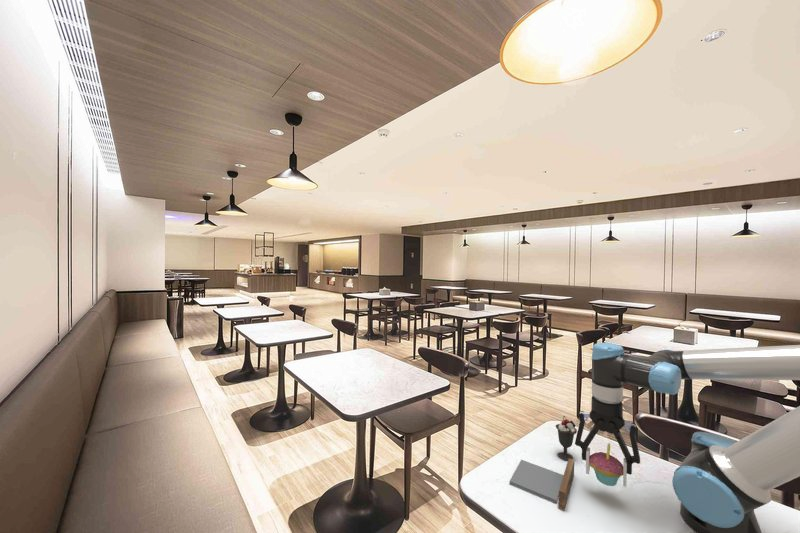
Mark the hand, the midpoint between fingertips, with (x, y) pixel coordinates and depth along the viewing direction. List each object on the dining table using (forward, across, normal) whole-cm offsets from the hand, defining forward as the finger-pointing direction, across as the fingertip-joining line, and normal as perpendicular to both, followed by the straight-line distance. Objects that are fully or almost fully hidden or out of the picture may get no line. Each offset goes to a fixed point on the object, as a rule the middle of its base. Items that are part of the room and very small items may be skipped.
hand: (605, 477), depth 92 cm
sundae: (+6, +13, -15) cm, 21 cm away
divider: (+6, +10, +3) cm, 12 cm away
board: (+6, +18, +4) cm, 19 cm away
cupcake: (+1, 0, 0) cm, 1 cm away
